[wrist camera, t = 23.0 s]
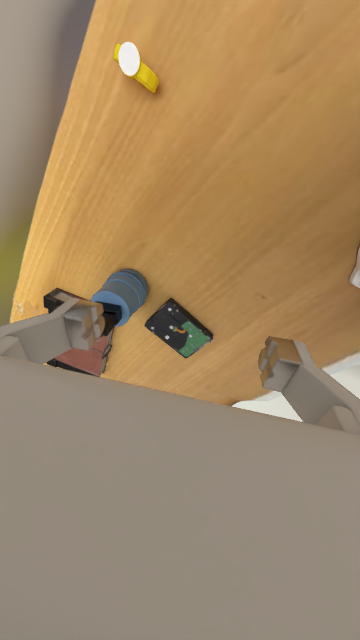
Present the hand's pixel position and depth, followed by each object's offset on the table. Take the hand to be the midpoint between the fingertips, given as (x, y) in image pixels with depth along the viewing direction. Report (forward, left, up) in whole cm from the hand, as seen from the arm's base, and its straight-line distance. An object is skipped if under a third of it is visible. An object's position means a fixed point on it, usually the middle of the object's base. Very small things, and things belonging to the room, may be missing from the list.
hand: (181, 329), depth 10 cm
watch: (+21, -8, -35) cm, 42 cm away
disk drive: (-10, +24, -35) cm, 44 cm away
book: (+9, +47, -35) cm, 60 cm away
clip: (+6, +23, -24) cm, 34 cm away
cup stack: (+6, +23, -35) cm, 43 cm away
